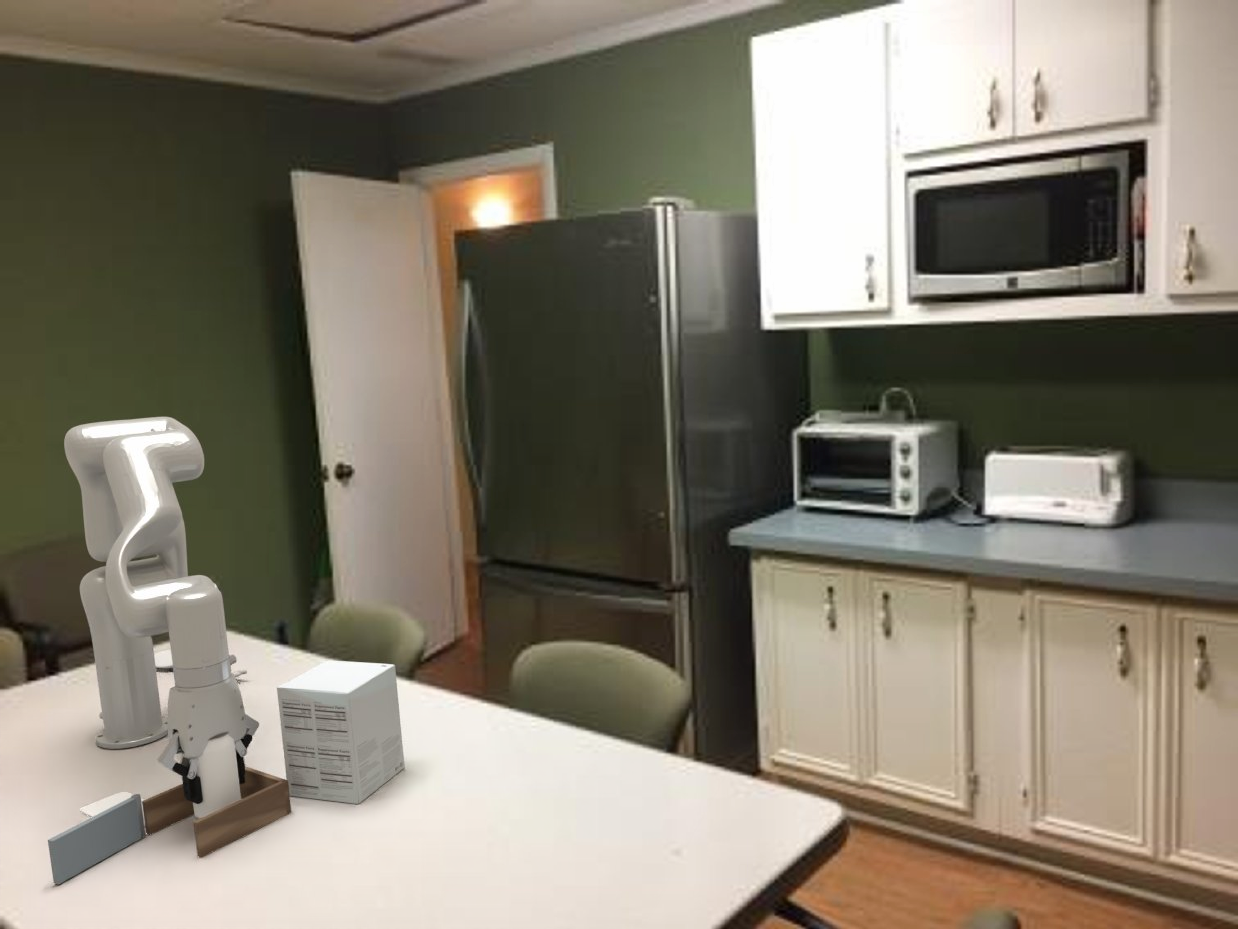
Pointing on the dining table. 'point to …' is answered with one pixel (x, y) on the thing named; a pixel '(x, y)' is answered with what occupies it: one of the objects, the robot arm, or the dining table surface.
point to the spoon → (165, 662)
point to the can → (218, 776)
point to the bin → (222, 811)
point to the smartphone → (106, 804)
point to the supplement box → (341, 730)
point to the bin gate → (96, 838)
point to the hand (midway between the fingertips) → (216, 790)
